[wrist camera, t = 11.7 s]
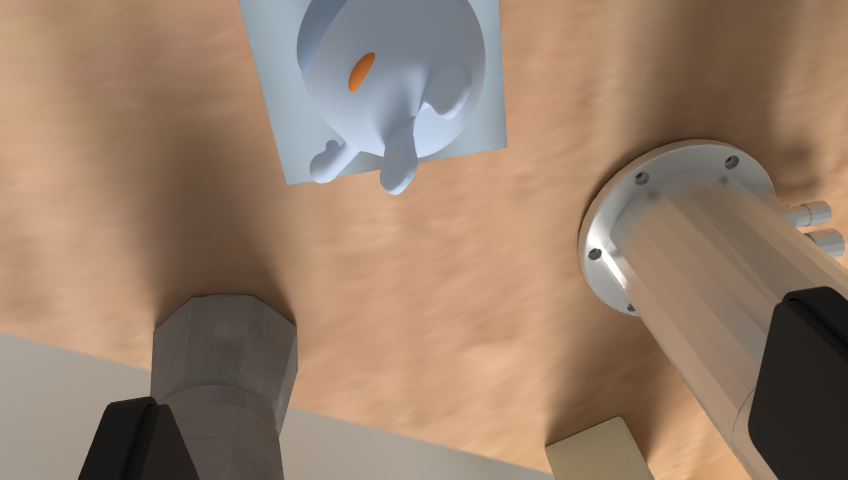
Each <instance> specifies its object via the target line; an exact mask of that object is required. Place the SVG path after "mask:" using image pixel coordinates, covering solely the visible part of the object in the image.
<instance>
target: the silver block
mask: <svg viewBox="0 0 848 480" xmlns="http://www.w3.org/2000/svg"><path fill="white" fill-rule="evenodd" d="M238 1H239V5H240V9H241V13H242V17H243V20H244V24H245V28H246V32H247V36H248V39H249V43H250V47H251V51H252V55H253V59H254V62H255V66H256V70H257V74H258V78H259V81H260V85H261V89H262V93H263V97H264V100H265V104H266V108H267V112H268V116H269V120H270V123H271V127H272V131H273V135H274V139H275V142H276V146H277V150H278V154H279V158H280V162H281V165H282V169H283V173H284V177H285V181H286V184H287V186H288V185H294V184H299V183H305V182H311V181H314V180H313V179H312V177H311V175H310V171H309V168H310V163H311V160H312V159H313V157H314V156H315V155H317V154H319V153H322V152H324V151H325V150H326V143H327V142H328V141H330V140H335V141H337V142H338V143H339V145H340V147H341V146H342V144H343V143H344V142H345V140H344V139H343V138H342V137H341V136H340V135H339V134H338V133H337V132H336V131H335V130H334V129H333V128H331V127H330V126H329V124H328V123H327V122H326V121H325V120H324V119H323V118H322V116H321V115H320V114H319V112H318V111H317V109H316V108H315V106H314V104H313V103H312V101H311V99H310V97H309V95H308V92H307V90H306V87H305V84H304V81H303V77H302V73H301V69H300V67H299V65H298V60H297V50H296V49H297V38H298V33H299V29H300V26H301V22H302V20H303V17H304V15H305V12H306V10H307V8H308V6H309V4H310V3H311V1H312V0H238ZM468 1H469V3H470V4H471V6H472V8H473V10H474V12H475V14H476V16H477V19H478V21H479V24H480V27H481V30H482V34H483V39H484V44H485V56H486V65H485V77H484V84H483V88H482V92H481V96H480V99H479V102H478V105H477V107H476V109H475V111H474V114H473V115H472V117H471V119H470V121H469V122H468V124H467V125H466V127H465V128H464V129H463V131H462V132H461V133H460V134H459V135H458V136H457V137H456V138H455V139H454V140H453V141H452V142H451V143H450V144H448V145H447V146H446V147H444V148H442V149H441V150H439V151H437V152H435V153H433V154H430V155H428V156H424V157H420V158H418V163H420V162H426V161H431V160H437V159H443V158H449V157H454V156H460V155H466V154H472V153H477V152H483V151H489V150H495V149H500V148H506V147H507V136H506V119H505V102H504V85H503V67H502V50H501V33H500V15H499V0H468ZM382 162H383V157H382V156H378V155H375V154H372V153H368V152H363V151H360V152H359V153H358V154H357V155H356V156H355V157H354V158H353V160H352V161H351V162H350V163H349V164H348V165H347V166H346V167H345V168H344V169H343V170H342V171H341V172H340V173H339V174H338V175H337V176H336V177H339V176H345V175H351V174H357V173H362V172H368V171H374V170H380V169H381V167H382Z"/></svg>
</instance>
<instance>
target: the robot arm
mask: <svg viewBox="0 0 848 480" xmlns="http://www.w3.org/2000/svg"><path fill="white" fill-rule="evenodd" d="M830 219H831V209H830V206H829V205H828V204H827V202H825V201H817V202H812V203H806V204H802V205H800V206H796V207H790V206H789V205H787V204H785V203H783V202H782V201H781V200H779V199H778V198H777V197H775V192H774V187H773V184H772V182H771V180H770V178H769V176H768V174H767V172H766V171H765V170H764V168H763V167H762V166H761V165H760V164H759V163H758V162H757V161H756V160H755V159H754V158H752V157H751V156H750V155H748V154H747V153H746V152H744V151H743V150H741V149H739V148H737V147H735V146H733V145H731V144H728V143H725V142H720V141H716V140H711V139H691V140H685V141H679V142H674V143H670V144H667V145H665V146H662V147H659V148H656V149H653V150H651V151H649V152H648V153H646V154H644V155H642V156H640V157H638V158H636V159H635V160H633V161H632V162H631V163H629V164H628V165H627V166H625V167H624V168H623V169H621V170H620V171H619V172H617V173H616V174H615V175H614V176H613V177H612V178H611V179H610V180H609V182H608V183H607V184H606V185H605V186H604V187H603V188H602V189H601V191H600V192H599V193H598V195H597V196H596V198H595V199H594V200H593V202H592V203H591V205H590V207H589V209H588V212H587V214H586V216H585V218H584V220H583V223H582V227H581V231H580V234H579V241H578V257H579V263H580V268H581V270H582V273H583V275H584V277H585V280H586V282H587V283H588V285H589V286H590V288H591V289H592V291H593V292H594V294H595V295H596V296H597V297H598V298H599V299H600V300H601V301H602V302H603V303H604V304H606V305H608V306H609V307H611V308H613V309H614V310H616V311H618V312H621V313H624V314H627V315H630V316H637V317H640V318H641V319H642V321H643V322H644V323H645V325H646V326H647V328H648V329H649V331H650V332H651V334H652V335H653V337H654V338H655V340H656V341H657V342H658V344H659V345H660V347H661V348H662V350H663V351H664V353H665V354H666V356H667V357H668V358H669V360H670V361H671V363H672V364H673V366H674V367H675V369H676V370H677V372H678V373H679V374H680V376H681V377H682V379H683V380H684V382H685V383H686V385H687V386H688V388H689V389H690V391H691V392H692V393H693V395H694V396H695V398H696V399H697V401H698V402H699V404H700V405H701V407H702V408H703V409H704V411H705V412H706V414H707V415H708V417H709V418H710V420H711V421H712V423H713V424H714V426H715V427H716V428H717V430H718V431H719V433H720V434H721V436H722V437H723V439H724V440H725V442H726V443H727V444H728V446H729V447H730V449H731V450H732V452H733V453H734V455H735V456H736V458H737V459H738V460H739V462H740V463H741V465H742V466H743V467H744V469H745V470H746V472H747V473H748V475H749V476H750V477H751V479H752V480H848V270H847V269H846V268H845V267H843V266H842V265H841V264H840V263H838V262H837V261H836V260H835V259H837V258H839V257H841V256H842V255H843V253H844V250H845V246H844V240H843V238H842V235H841V234H840V233H839V232H838V231H837V230H835V229H833V228H829V229H824V230H819V231H813V232H808V233H804V234H802V233H801V232H800V231H799V230H797V229H796V227H801V226H806V227H807V226H813V225H818V224H823V223H827V222H829V221H830ZM78 480H200V478H199V476H198V473H197V471H196V469H195V466H194V464H193V461H192V459H191V457H190V454H189V452H188V449H187V447H186V445H185V442H184V440H183V438H182V435H181V433H180V430H179V428H178V426H177V423H176V421H175V418H174V416H173V414H172V411H171V409H170V407H169V406H168V405H167V404H161V405H158V404H157V402H156V400H155V399H154V398H153V397H149V396H148V397H142V398H136V399H130V400H124V401H117V402H112V403H110V404H109V405H107V407H106V409H105V411H104V413H103V416H102V418H101V421H100V424H99V426H98V429H97V431H96V434H95V436H94V439H93V442H92V445H91V447H90V449H89V452H88V455H87V457H86V460H85V463H84V465H83V468H82V470H81V473H80V475H79V478H78Z"/></svg>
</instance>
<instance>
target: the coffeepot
mask: <svg viewBox="0 0 848 480" xmlns="http://www.w3.org/2000/svg"><path fill="white" fill-rule="evenodd" d="M297 371H298V364H297V328H296V327H295V326H294V325H293V324H292V323H291V322H290V321H288V320H287V319H286V318H285V317H284V316H283V315H282V314H281V313H279V312H278V311H277V310H276V309H275V308H273V307H271V306H270V305H268V304H266V303H265V302H262V301H260V300H258V299H257V298H256V297H254V296H247V295H236V294H216V295H208V296H204V297H192V298H191V299H190V300H189V301H187V302H186V303H185V304H184V305H182V306H181V307H179V308H178V309H177V310H175V311H174V312H173V313H172V314H171V315H170V316H169V317H168V318H167V320H166V321H165V322H164V323H163V324H161V325H160V326H159V327H158V328H157V329H156V330H155V331H154V333H153V353H152V372H151V393H150V397H153V398H154V399H155V400H156V402H157V404H158V405H161V404H167V405H168V406H169V407H170V409H171V411H172V414H173V416H174V418H175V421H176V423H177V426H178V428H179V430H180V433H181V435H182V438H183V440H184V442H185V445H186V447H187V449H188V452H189V454H190V457H191V459H192V461H193V464H194V466H195V469H196V471H197V473H198V476H199V478H200V480H284V475H283V467H282V461H281V460H282V459H281V452H280V444H279V436H280V433H281V429H282V425H283V421H284V418H285V414H286V411H287V407H288V404H289V400H290V396H291V393H292V389H293V385H294V382H295V378H296V374H297Z"/></svg>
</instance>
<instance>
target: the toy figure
mask: <svg viewBox="0 0 848 480" xmlns="http://www.w3.org/2000/svg"><path fill="white" fill-rule="evenodd" d="M296 50H297V60H298V65H299V67H300V69H301V73H302V77H303V81H304V84H305V87H306V90H307V92H308V95H309V97H310V99H311V101H312V103H313V104H314V106H315V108H316V109H317V111H318V112H319V114H320V115H321V116H322V118H323V119H324V120H325V121H326V122H327V123H328V124H329V126H330V127H331V128H333V129H334V130H335V131H336V132H337V133H338V134H339V135H340V136H341V137H342V138H343V139H344V140H345V142H344V143H343V144H342V146H341V147H340V145H339V143H338V142H337V141H335V140H330V141H328V142H327V143H326V150H325V151H324V152H322V153H319V154H317V155H315V156H314V157H313V159H312V160H311V163H310V168H309V171H310V175H311V177H312V179H313V180H314V181H315V182H317V183H327V182H330V181H332V180H333V179H334V178H336V176H337V175H338V174H339V173H340V172H341V171H342V170H343V169H344V168H345V167H346V166H347V165H348V164H349V163H350V162H351V161H352V160H353V158H354V157H355V156H356V155H357V154H358V153H359V152H360V151H363V152H368V153H372V154H375V155H378V156H382V157H383V162H382V167H381V173H380V183H381V185H382V187H383V188H384V189H385V190H386V191H387V192H389V193H390V194H393V195H398V194H399V193H401V192H402V191H403V190H404V189H405V188H406V187H407V185H408V184H409V182H410V181H411V180H412V178H413V177H414V175H415V172H416V169H417V165H418V158H420V157H424V156H428V155H430V154H433V153H435V152H437V151H439V150H441V149H442V148H444V147H446V146H447V145H448V144H450V143H451V142H452V141H453V140H454V139H455V138H456V137H457V136H458V135H459V134H460V133H461V132H462V131H463V129H464V128H465V127H466V125H467V124H468V122H469V121H470V119H471V117H472V115H473V114H474V111H475V109H476V107H477V105H478V102H479V99H480V96H481V92H482V88H483V84H484V77H485V65H486V56H485V44H484V39H483V34H482V30H481V27H480V24H479V21H478V19H477V16H476V14H475V12H474V10H473V8H472V6H471V4H470V3H469V1H468V0H312V1H311V3H310V4H309V6H308V8H307V10H306V12H305V15H304V17H303V20H302V22H301V26H300V29H299V33H298V38H297V49H296Z"/></svg>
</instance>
